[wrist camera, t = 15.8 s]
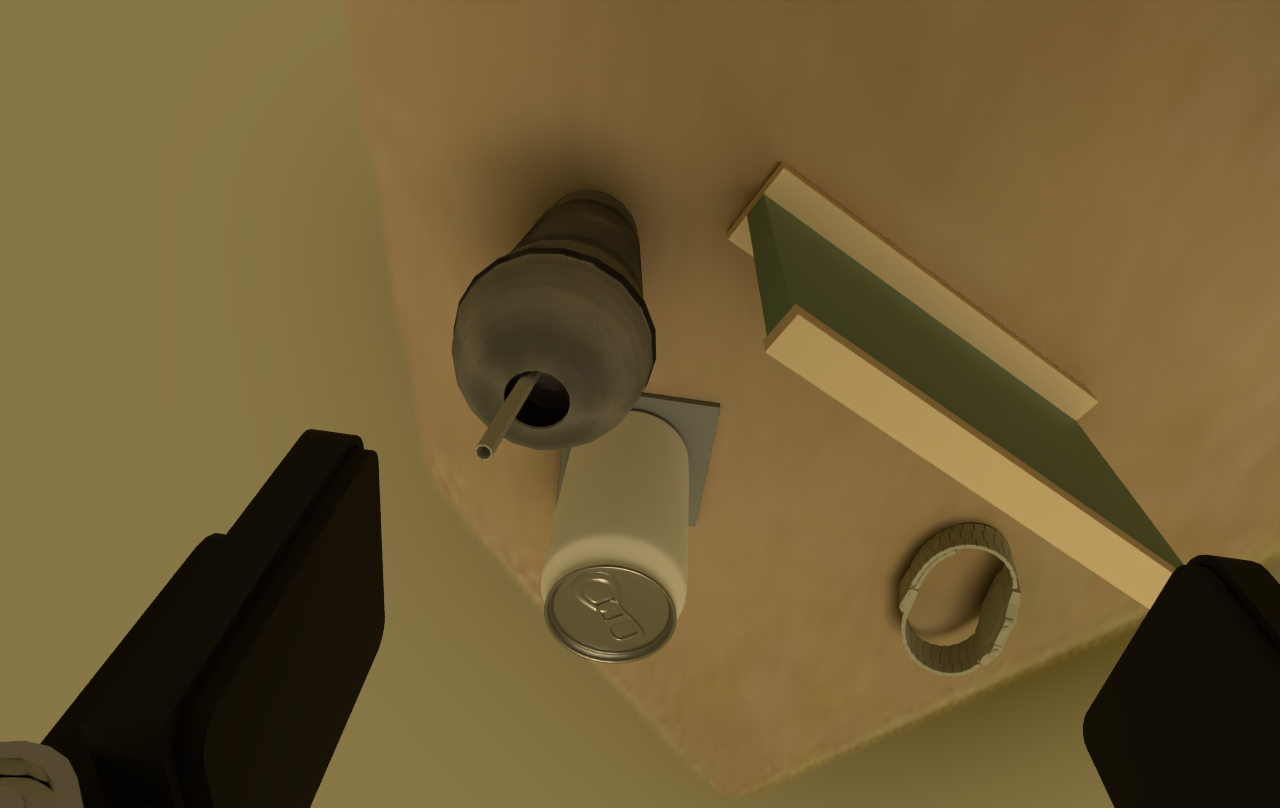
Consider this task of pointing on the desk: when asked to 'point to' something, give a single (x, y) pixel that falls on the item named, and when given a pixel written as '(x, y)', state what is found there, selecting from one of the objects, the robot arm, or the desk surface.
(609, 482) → the can
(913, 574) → the wristwatch
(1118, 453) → the desk surface
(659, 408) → the grey mat
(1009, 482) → the chalkboard panel
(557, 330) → the beverage cup
